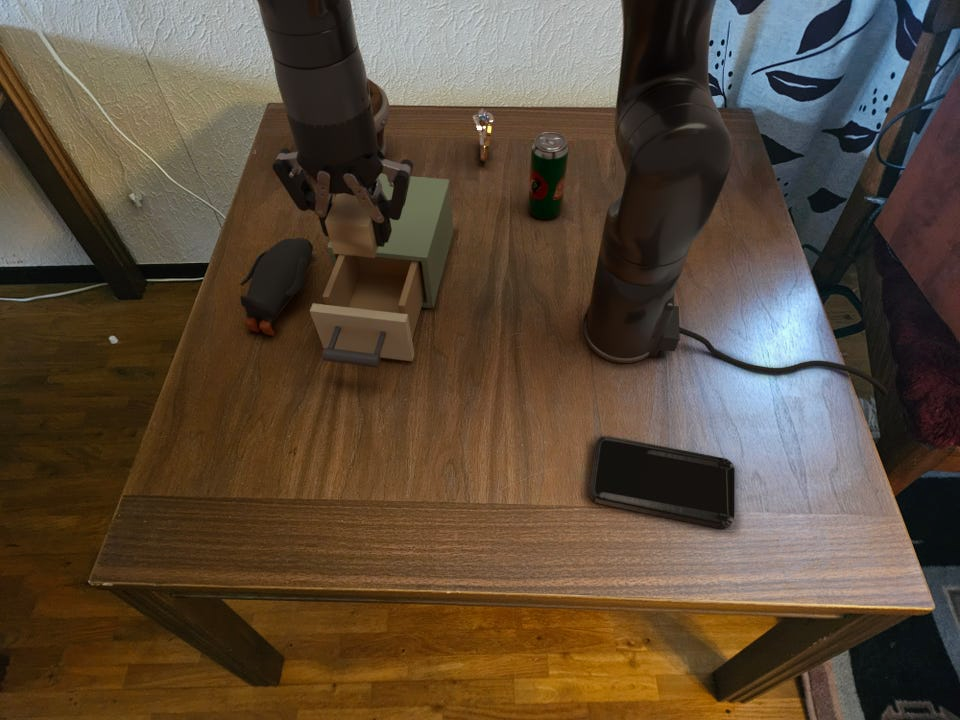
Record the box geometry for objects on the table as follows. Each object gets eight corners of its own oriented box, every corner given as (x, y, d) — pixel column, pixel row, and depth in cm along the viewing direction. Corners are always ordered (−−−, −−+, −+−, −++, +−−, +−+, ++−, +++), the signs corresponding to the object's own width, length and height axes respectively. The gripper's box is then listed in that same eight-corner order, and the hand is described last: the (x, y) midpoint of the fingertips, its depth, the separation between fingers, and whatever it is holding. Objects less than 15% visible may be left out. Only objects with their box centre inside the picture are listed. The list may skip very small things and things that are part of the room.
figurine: (293, 349, 84) (335, 257, 90) (265, 312, 75) (314, 212, 81) (244, 337, 86) (288, 247, 91) (210, 299, 76) (262, 202, 82)
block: (385, 228, 71) (379, 196, 67) (374, 258, 68) (367, 226, 64) (345, 224, 71) (337, 192, 68) (333, 253, 69) (324, 221, 65)
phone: (734, 527, 65) (588, 496, 67) (731, 531, 66) (587, 501, 68) (734, 459, 70) (597, 433, 72) (731, 463, 71) (596, 437, 73)
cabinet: (433, 308, 84) (427, 257, 77) (342, 298, 86) (326, 247, 78) (453, 232, 93) (449, 179, 85) (369, 224, 94) (358, 171, 86)
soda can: (559, 223, 93) (567, 155, 84) (525, 219, 94) (529, 150, 84) (563, 200, 96) (571, 132, 86) (530, 196, 97) (534, 128, 87)
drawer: (404, 393, 76) (395, 355, 69) (312, 381, 77) (296, 343, 71) (434, 281, 86) (429, 238, 80) (353, 272, 87) (342, 230, 81)
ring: (474, 144, 105) (473, 100, 98) (494, 144, 105) (494, 100, 98) (472, 171, 101) (471, 127, 94) (493, 171, 101) (492, 127, 94)
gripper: (233, 115, 54) (285, 257, 68) (396, 128, 53) (416, 270, 67) (263, 67, 58) (307, 209, 72) (415, 78, 57) (430, 221, 71)
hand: (359, 238), depth 69 cm, fingers closed on block, 4 cm apart
